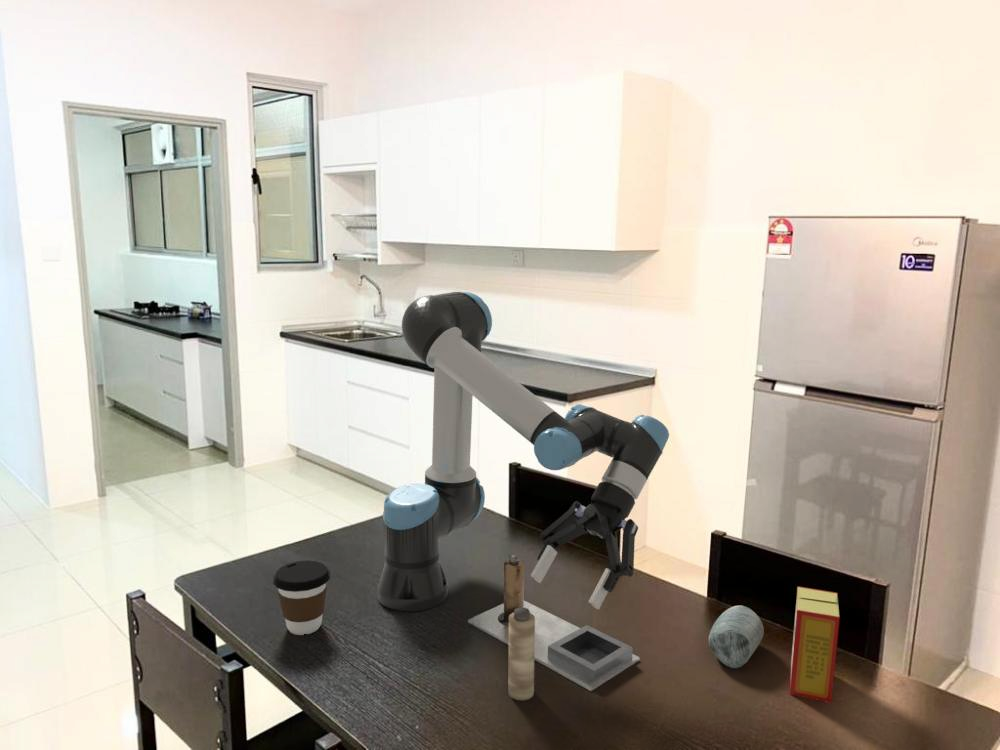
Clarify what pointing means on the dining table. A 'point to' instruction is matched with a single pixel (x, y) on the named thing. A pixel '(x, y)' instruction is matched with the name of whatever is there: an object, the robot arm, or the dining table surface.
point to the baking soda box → (814, 644)
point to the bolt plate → (557, 636)
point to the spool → (736, 636)
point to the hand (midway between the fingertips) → (563, 592)
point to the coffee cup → (302, 594)
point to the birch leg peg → (521, 654)
